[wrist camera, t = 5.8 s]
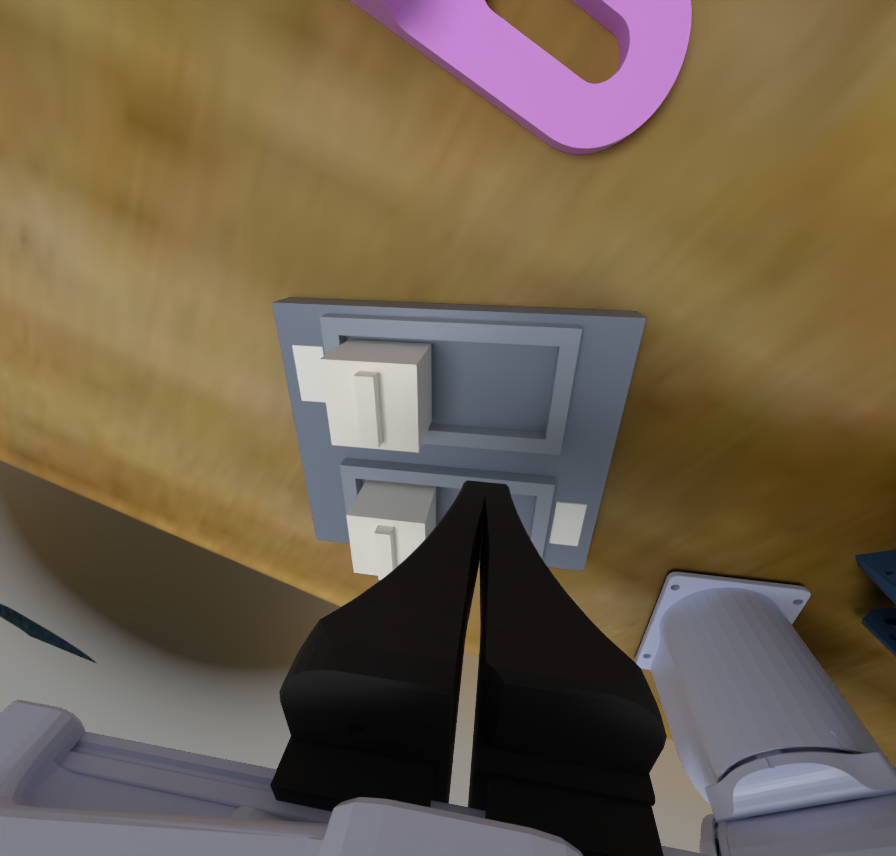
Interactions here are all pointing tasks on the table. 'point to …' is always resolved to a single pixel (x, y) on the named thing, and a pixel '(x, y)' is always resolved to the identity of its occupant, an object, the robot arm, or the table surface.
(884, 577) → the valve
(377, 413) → the near tab
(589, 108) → the bracket
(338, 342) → the switch bank
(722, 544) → the table surface
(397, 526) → the far tab
